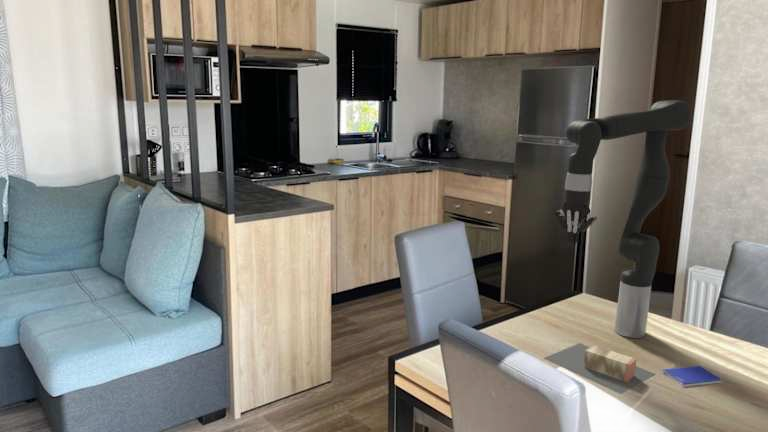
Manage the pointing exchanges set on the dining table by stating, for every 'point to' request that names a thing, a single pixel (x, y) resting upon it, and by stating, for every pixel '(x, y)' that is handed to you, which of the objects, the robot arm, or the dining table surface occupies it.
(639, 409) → the dining table surface
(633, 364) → the birch block
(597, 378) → the rubber mat
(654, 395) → the dining table surface
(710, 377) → the hard drive
